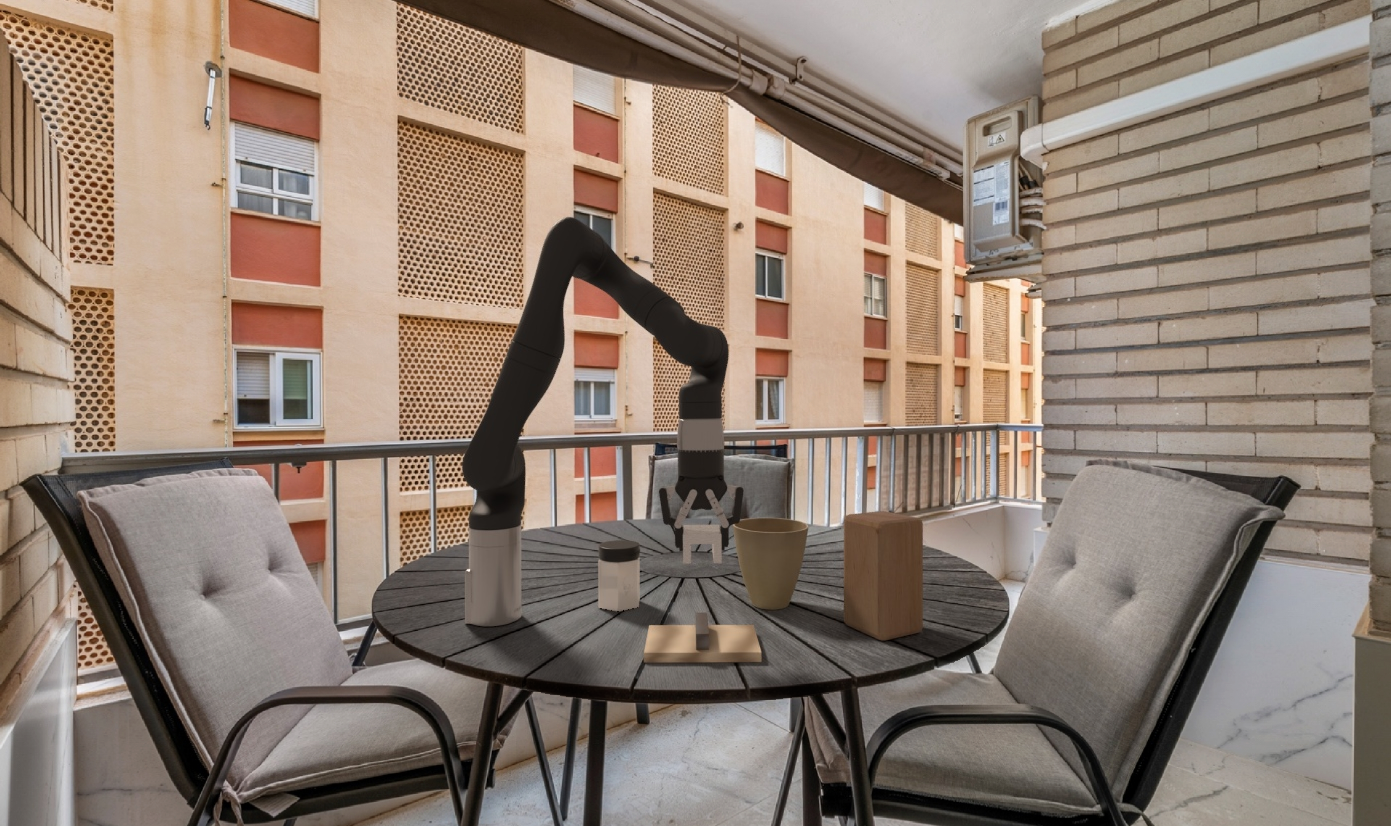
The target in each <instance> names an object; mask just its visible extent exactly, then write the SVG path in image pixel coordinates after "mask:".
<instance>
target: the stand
mask: <svg viewBox="0 0 1391 826" xmlns="http://www.w3.org/2000/svg"><path fill="white" fill-rule="evenodd" d="M643 663H645V664H646V663H647V664H648V663H649V664H651V663H762V649H761V647H760V643H759V639H758V636H757V632H756V628H755V625H754V624H709V618H708V612H695V624H677V625H676V624H666V625H665V624H664V625H663V624H662V625H661V624H659V625H658V624H655V625H654V624H653V625H652V624H651V625H650V624H649V625H648V631H647V635H646V639H645V645H644V650H643Z"/></svg>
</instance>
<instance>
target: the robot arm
mask: <svg viewBox="0 0 1391 826" xmlns="http://www.w3.org/2000/svg"><path fill="white" fill-rule="evenodd" d="M572 278H576V279H579V280H582V281H583V282H586V283H587V284H590V285H591V286H593V287H596V288H597V289H599V290H601V291H603V293H605V294H607V295H609V296H610V297H611V298H612V299H613V300H614V301H615V302H616V303H617V304H618V305H619V306H620V308H621V309H622V310H623V311H624V313H625V314H626V315H628V316H629V317H630V319H632V320H633V321H634V322H636V323H637V324H638V325H639V326H640V327H642V328H643V329H644V330H645V331H647V332H648V333H649V334H650V335H652V336H654V338H655V340H656V341H657V343H658V344H659V345H660V346H661V348H662V349H663V350H664V351H665V352H666V353H667V354H668V356H670V357H671V358H672V359H674V360H675V362H678V363H679V364H681V365H684V366H686V367H690V375H689V380H688V382H686V383H684V384H682V385H681V386H680V388H679V392H678V427H677V438H676V446H677V481H676V483H675V485H671V486H670V485H669V486H664V485H663V486H661V487H660V488H659V490H658V496H659V503H660V508H661V509H660V510H661V515H662V522H663V524H664V525H667V526H671V527H673V528H674V546H675V548H676V549H679V550H678V551H679V552H681V553H683V530H684V527H683V525H684V522H685V520H686V519H687V518H686V517H687V516H688V514H689V512H690V510H691V511H699V510H705V511H712V510H713V512H714V513H715V515H716V517H717V520H718V522H719V523H720V525H719V526H720V530H721V545H722V552H725V550H726V549H725V548H729V545H730V541H729V540H730V535H729V534H730V527H731V526H733V524H738V523H739V522H740V520H741V515H742V507H743V498H744V490H745V489H744V488H743V486H742V485H741V484H738V485H731V484H730V485H729V484H727V483H726V480H725V438H724V436H725V434H724V426H723V408H722V407H723V404H722V401H723V400H722V391H723V387H724V385H725V384H724V383H725V378H726V374H727V369H728V363H729V356H730V355H729V354H730V353H729V352H730V351H729V345H728V339H727V337H726V335H725V333H723V331H722V330H721V329H719V328H718V327H716V326H714V325H708V324H705V323H700V322H698V321H696V320H694V319H693V318H691V317H690V316H688V315H687V314H686V312H685V309H684V307H683V306H682V305H681V304H680V303H679V302H678V301H677V300H676V299H675V298H673V297H672V296H671V295H669V294H668V293H667V292H666V291H664V290H663V289H662V288H660V287H659V286H658V285H656V284H654V283H653V282H652V281H650V280H648V279H647V278H646V277H644V276H642V275H640V274H639V273H637V272H636V271H635V270H633V269H632V268H631V267H630V266H628V265H627V264H626V263H625V261H623V259H621V257H620V256H618V254H617V253H616V252H615V251H614V250H613V249H612V247H611V246H610V245H609V244H608V243H607V242H606V240H605V239H604V238H603V237H602V236H601V235H600V234H599V233H598V232H597V231H595V230H593V229H592V228H591V227H589V226H588V225H586V224H585V223H584V222H583V221H581V220H579V219H577V218H576V217H573V216H565V217H563V218H560V219H558V220H557V221H556V222H555V223H554V224H553V225H552V226H551V227H550V229H549V231H548V232H547V234H546V236H545V239H544V242H543V244H542V247H541V251H540V255H539V259H538V263H537V266H536V270H535V274H534V277H533V281H532V284H531V288H530V292H529V294H528V297H527V300H526V303H525V305H524V309H523V311H522V314H521V317H520V320H519V323H518V325H517V327H516V330H515V332H514V335H513V336H512V339H511V342H510V344H509V347H508V350H507V351H506V355H505V356H504V361H503V362H502V363H503V364H502V367H501V369H500V372H499V375H498V377H497V379H496V382H495V385H494V388H493V391H492V393H491V396H490V400H489V402H488V405H487V408H486V410H485V412H484V414H483V417H482V419H481V420H480V423H479V425H478V426H477V429H476V430H475V433H474V434H473V437H472V439H471V440H470V442H469V444H468V447H467V449H466V450H465V452H464V455H463V458H462V463H461V464H462V465H461V470H462V476H463V478H464V481H465V482H466V483H467V485H468V486H469V487H470V488H471V489H473V490H476V499H475V502H474V504H473V506H472V508H471V510H470V512H468V513H469V514H468V568H467V569H466V570H465V572H464V624H471V625H474V626H478V627H479V626H480V627H495V626H496V627H498V626H503V625H504V626H505V625H508V624H512V623H513V622H517V621H518V620H520V619H521V617H522V607H523V606H522V514H523V511H524V507H525V503H526V502H525V499H526V498H525V497H526V476H527V475H526V473H527V472H526V471H527V469H526V459H525V455H524V451H522V449H521V447H520V446H519V445H518V443H519V440H520V437H521V434H522V431H523V429H524V426H525V424H526V422H527V420H528V419H529V417H530V416H531V414H532V413H533V411H534V410H535V408H536V407H537V406H538V405H539V403H540V402H541V400H542V398H543V397H544V396H545V394H546V393H547V391H548V390H549V387H550V386H551V384H552V381H553V379H554V378H555V375H556V373H557V371H558V368H559V365H560V363H561V359H562V357H563V353H564V350H565V344H566V343H565V341H566V340H565V337H566V336H565V334H566V333H565V319H564V317H565V316H564V307H565V299H566V294H567V291H568V288H569V285H570V282H571V280H572ZM727 492H728V493H729V496H730V499H732V500H733V503H732V510H731V515H729V516H726V514H725V512H724V510H723V508H722V506H721V503H720V501H721V500H722V499H723V497H724V496H725V494H726V493H727ZM675 493H676V494H677V496H679V499H680V500H681V501H682V502H683V503H682V505H681V507H680V509H679V512H678V514H677V516H676V517H675V516H671V515H672V514H671V509H670V500H673V499H672V498H673V495H674V494H675Z"/></svg>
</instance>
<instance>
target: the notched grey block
mask: <svg viewBox="0 0 1391 826" xmlns="http://www.w3.org/2000/svg"><path fill="white" fill-rule="evenodd" d="M720 526H721V525H720V524H683V525H682V527H684V530H683V551H682V559H683V560H682V564H692V545H711V549H712V550H711V551H712V558H713V563H714V564H722V563H723V561H722V560H723V558H722V557H723V556H722V555H723V554H722V552H723V551H722V545H721V530H720Z"/></svg>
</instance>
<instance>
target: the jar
mask: <svg viewBox="0 0 1391 826" xmlns="http://www.w3.org/2000/svg"><path fill="white" fill-rule="evenodd" d="M640 545H641V544H640V543H639V542H637V541H634V540H627V539H625V540H624V539H623V540H621V539H619V540H618V539H617V540H609V541H608V540H607V541H604V542H602V543H599V545H598V562H597V563H598V564H597V567H598V568H597V569H598V571H597V572H598V573H597V574H598V580H597V581H598V586H597V587H598V598H597V599H598V600H597V601H598V603H597V604H598V609H600V608H602V609H601V610H605V609H607V611H611V610H612V612H617V611H619V612H623V610H624V611H628V609H629V610H633V609H632V608H634V609H638V608H639V606H640V601H641V600H640V596H641V595H640V584H641V583H640V577H641V576H640V557H641V555H640V554H641V546H640ZM637 607H638V608H637Z"/></svg>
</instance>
